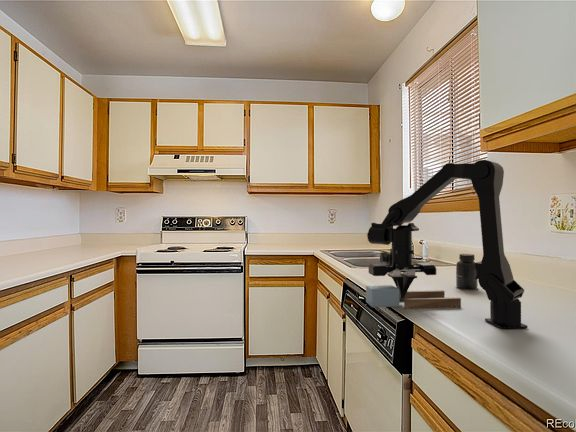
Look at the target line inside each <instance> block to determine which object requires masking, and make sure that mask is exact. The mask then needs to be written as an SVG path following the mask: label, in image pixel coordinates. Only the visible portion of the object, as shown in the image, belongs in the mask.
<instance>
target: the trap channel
mask: <svg viewBox="0 0 576 432" xmlns="http://www.w3.org/2000/svg"><path fill="white" fill-rule="evenodd" d="M445 293H446V291H444V290H441V289H440V290H408V291H407V293H406V295H405V297H404V299H401V298H400V296H399V301H403V303H404V306H403V307H404V308H405V309H436V308H438V309H439V308H442V309H443V308H444V309H445V308H461V307H462V298H460V297H453V296H452V297H445V295H446V294H445Z"/></svg>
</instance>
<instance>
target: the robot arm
mask: <svg viewBox="0 0 576 432" xmlns="http://www.w3.org/2000/svg"><path fill="white" fill-rule="evenodd" d="M504 175H505V170H504V167H503V166H502V165H501V164H499V163H498V162H496V161H491V160H488V159H480V160H477V161H475V162H474V163H453V162H447V163H446V164H444V165H443V166H442V167H441V168H440V170H438V171H437V172H436V173H435V174H433V176H431V177H430V178H429V179H428V180H427V181H426V182H425V183H423V184H422V185H421V186H420V187H419V188H418V189H417V190H415V191H414V192H413V193H411V194H410V195H408V196H407V197H405V198H403V199H399V200H398V201H397V202H395V203H394V204H392V205H390V206H389V208H388V211H387V214H386V216H385V217H384V219H383V221H382V222H381V223H380V222H371V226H370V227H369V228H368V231H367V235H366V236H367V237H366V238H367V241H368V242H369V243H370V244H371V245H384V246H385V245H386V246H389V245H390V244H391V248H390V251H389V253H388V252H387V251H386V252H383V251H382V252H380V253H379V260H380V261H379V263H370V264H369V265H368V274H369V275H372V276H373V277H385V276H386V275H387V276H388V277H390V278H391V279H392V280H393V283H394V284H395V287H396V288H398V289H399V296H400V298H401V299H404V297H405V295H406V293H407V291H409V288H410V286H411V285H412V284H413V282H414V279H418V276H417V275H416V273H424V274H425V275H426V276H436V275H437V266H436V265H434V264H432V263H428V262H417V263H416V264H414V263H413V254H414V251H415V250H413V247H412V246H413V238H412V237H413V235H412V234H413V233H412V232H418V231H419V230H420V229H419V227H418V226H417V225H415V223H414V222H413V220H415V219H416V217H417V216H418V215H419V213H420V212H421V211H422V210H421V209H422V208H423V207H424V206H425V205H426V204H427V203H428V202H429V201H430V200H432V199H433V198H435V197H436V196H437V195H438V194H439V193H440V192H442V191H443V190H444V189H445V188H447V187H448V186H449V185H450V184H452V183H453V182H454V181H455V180H457V179H459V180H460V179H461V180H462V179H463V180H470V181H471V185H472V187H473V190H474V192H475V194H476V196H477V198H478V206H479V207H478V208H479V216H480V218H479V219H480V230H481V231H480V233H481V242H482V243H481V244H482V252H483V253H482V259H481V260H480V261H476V262H475V268H476V273H477V274H476V278H475V279H476V280H477V279H478V284H479V286H480V288H482V289H483V290H484V292H485V294H486V296H487V299H488V301H490V302H489V303H490V307H489V308H490V318H489V317H488V318H484V321H485V322H487V323H490V324H491V325H493V326H495V327H497V328H499V329H503V330H506V329H528V325H527V324H525V323H522V301H520V298H522V297H523V295H524V293H525V288H523V287H522V286H521V285H520V284H519V283H518V282H517V281H516V280H515V279H514V275H513V272H512V268H511V264H510V262H509V261H508V258H507V257H506V255H505V254H506V253H505V250H504V249H505V248H504V237H503V236H504V235H503V227H502V226H503V225H502V214H501V204H500V203H501V201H500V195H501V191H502V189H503V184H504ZM407 223H408V224H407ZM403 224H405V225H403Z"/></svg>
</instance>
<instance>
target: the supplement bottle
mask: <svg viewBox="0 0 576 432" xmlns="http://www.w3.org/2000/svg"><path fill="white" fill-rule="evenodd" d="M458 259H459V261H456V265H455V268H456V270H455V271H456V273H455V283H456V285H455V286H456V287H457V288H458V289H462V290H469V291H471V290H476V289H478V284H479V281H478V279H477V280H476V279H475V278H476V274H477V273H476V268H475V263H476V262H475V254H472V253H459V257H458Z"/></svg>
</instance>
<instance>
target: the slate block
mask: <svg viewBox="0 0 576 432" xmlns="http://www.w3.org/2000/svg"><path fill="white" fill-rule="evenodd" d="M365 302H366V303H367V304H368V305H369V306H370V307H371V308H391V307H392V308H395V307H396V308H397V307H400V300H399V289H398V288H397V287H396V286H394V285H393V284H384V285H383V284H381V285H380V284H375V285H372V284H371V285H365Z"/></svg>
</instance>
